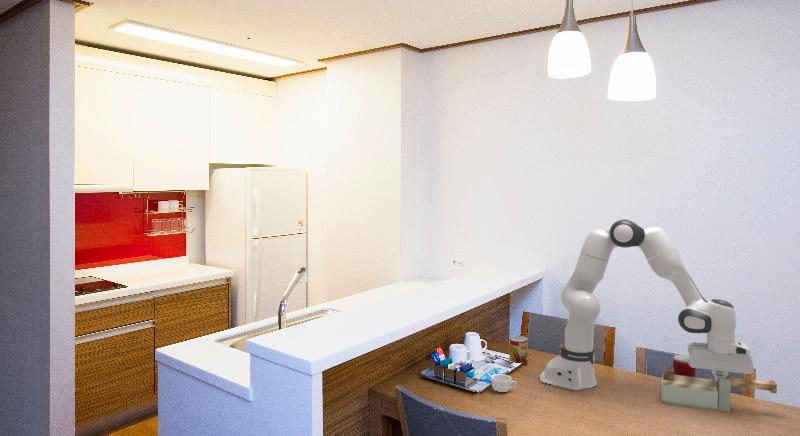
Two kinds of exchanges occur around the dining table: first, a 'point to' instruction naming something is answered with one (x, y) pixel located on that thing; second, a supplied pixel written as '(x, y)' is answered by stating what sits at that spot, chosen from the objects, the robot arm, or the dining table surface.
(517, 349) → the canned food
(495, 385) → the teacup
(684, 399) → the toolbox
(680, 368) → the canned food
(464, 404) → the dining table surface
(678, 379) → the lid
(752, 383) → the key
